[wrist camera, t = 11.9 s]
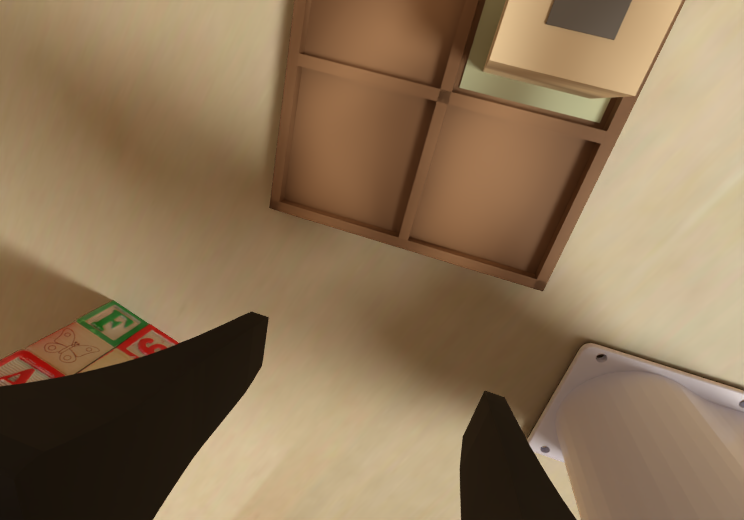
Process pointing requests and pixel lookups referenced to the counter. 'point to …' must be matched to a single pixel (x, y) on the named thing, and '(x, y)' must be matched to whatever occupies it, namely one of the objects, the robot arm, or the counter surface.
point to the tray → (435, 136)
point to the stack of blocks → (85, 346)
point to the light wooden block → (580, 44)
